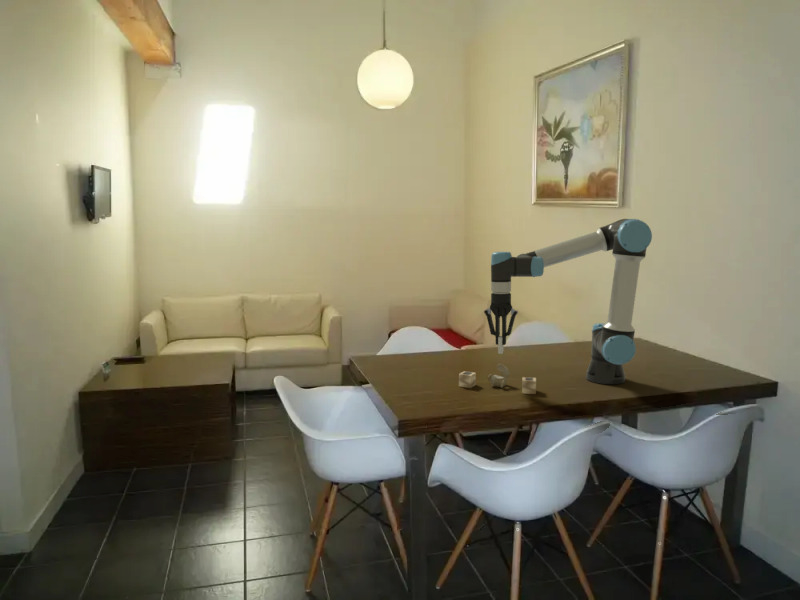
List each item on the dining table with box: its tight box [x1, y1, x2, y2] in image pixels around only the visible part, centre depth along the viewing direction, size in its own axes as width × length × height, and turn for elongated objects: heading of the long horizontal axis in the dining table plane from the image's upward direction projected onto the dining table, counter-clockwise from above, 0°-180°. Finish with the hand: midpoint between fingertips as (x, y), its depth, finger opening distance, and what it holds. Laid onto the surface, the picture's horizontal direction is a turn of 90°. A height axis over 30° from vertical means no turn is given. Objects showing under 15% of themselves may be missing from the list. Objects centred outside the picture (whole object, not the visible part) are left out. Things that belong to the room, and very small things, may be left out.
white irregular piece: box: [487, 363, 510, 389], centre depth 243 cm, size 9×6×10 cm
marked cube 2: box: [521, 376, 537, 395], centre depth 235 cm, size 5×5×5 cm
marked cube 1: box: [458, 370, 477, 389], centre depth 243 cm, size 5×5×5 cm
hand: (500, 352), depth 240 cm, fingers closed
